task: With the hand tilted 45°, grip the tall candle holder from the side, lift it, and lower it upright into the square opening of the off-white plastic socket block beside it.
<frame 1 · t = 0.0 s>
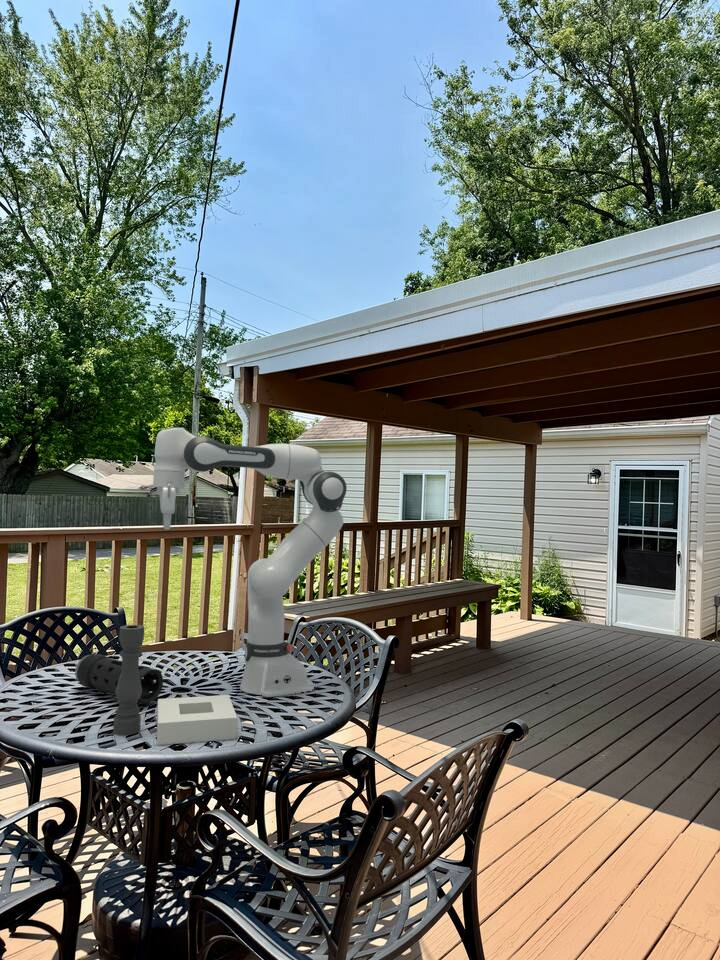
hand: (166, 528, 180), 48 cm above the table, tool pointing down, fingers open, 8 cm apart
candle holder: (126, 731, 149), on the table
socket block: (195, 728, 152), on the table
muzzle brake: (116, 697, 174), on the table
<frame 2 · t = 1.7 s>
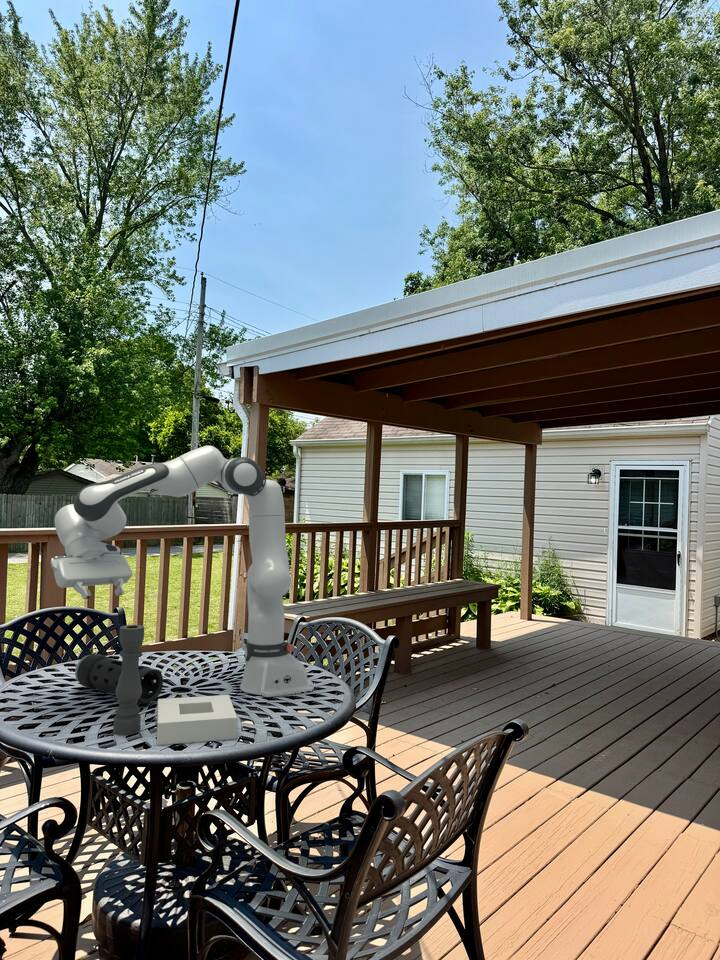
hand: (104, 595, 161), 31 cm above the table, tool tilted 45°, fingers open, 8 cm apart
nothing on the table moved.
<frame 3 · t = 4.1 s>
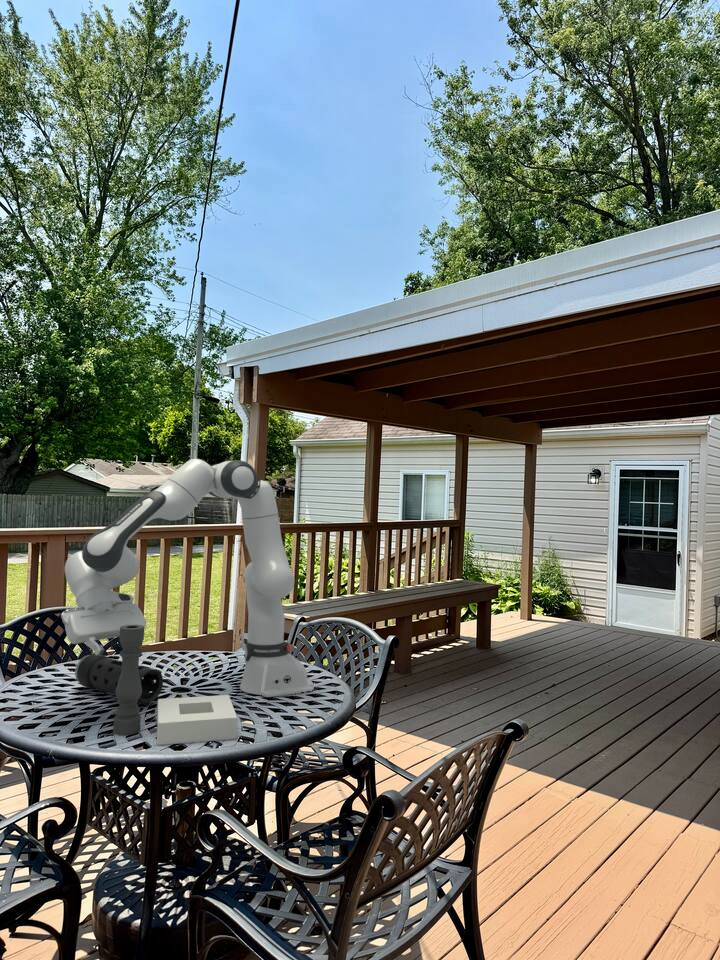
hand: (117, 650, 153), 18 cm above the table, tool tilted 45°, fingers open, 8 cm apart
nothing on the table moved.
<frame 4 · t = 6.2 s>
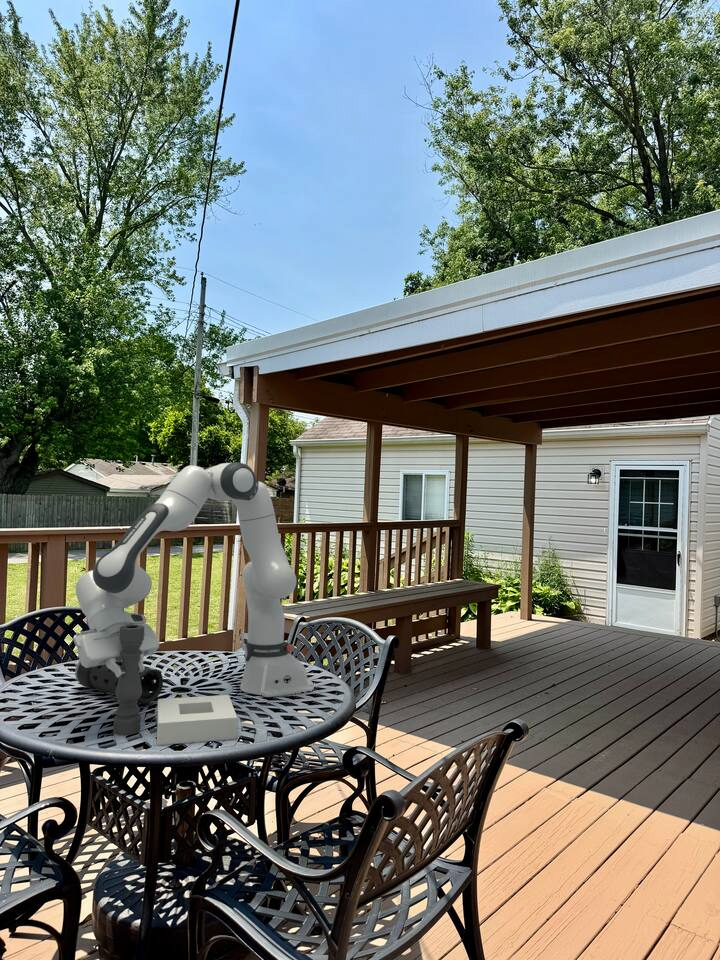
hand: (131, 673, 149), 14 cm above the table, tool tilted 45°, fingers closed on candle holder, 4 cm apart
candle holder: (126, 731, 149), on the table, touching gripper
everything else where it was.
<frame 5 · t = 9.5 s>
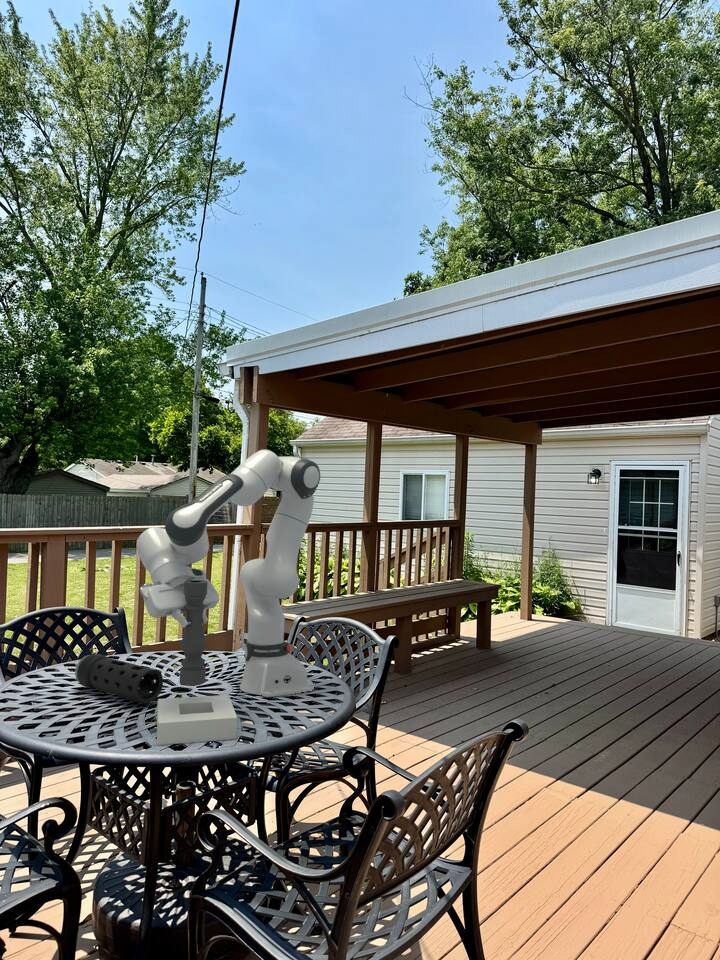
hand: (196, 624, 153), 26 cm above the table, tool tilted 45°, fingers closed on candle holder, 4 cm apart
candle holder: (192, 683, 153), point 11 cm above the table, touching gripper
everything else where it was.
when the fingers open (15 cm above the table, at t = 12.9 s): candle holder stays where it is, resting in socket block.
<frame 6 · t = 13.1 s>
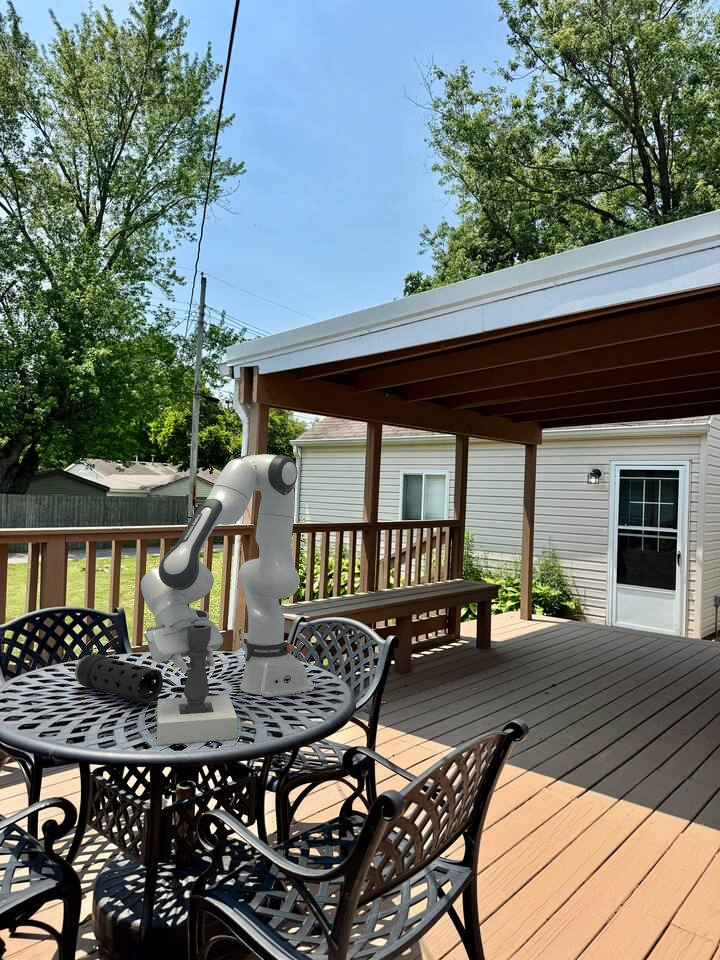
hand: (199, 668, 153), 15 cm above the table, tool tilted 45°, fingers open, 6 cm apart
candle holder: (194, 729, 152), resting in socket block
everything else where it was.
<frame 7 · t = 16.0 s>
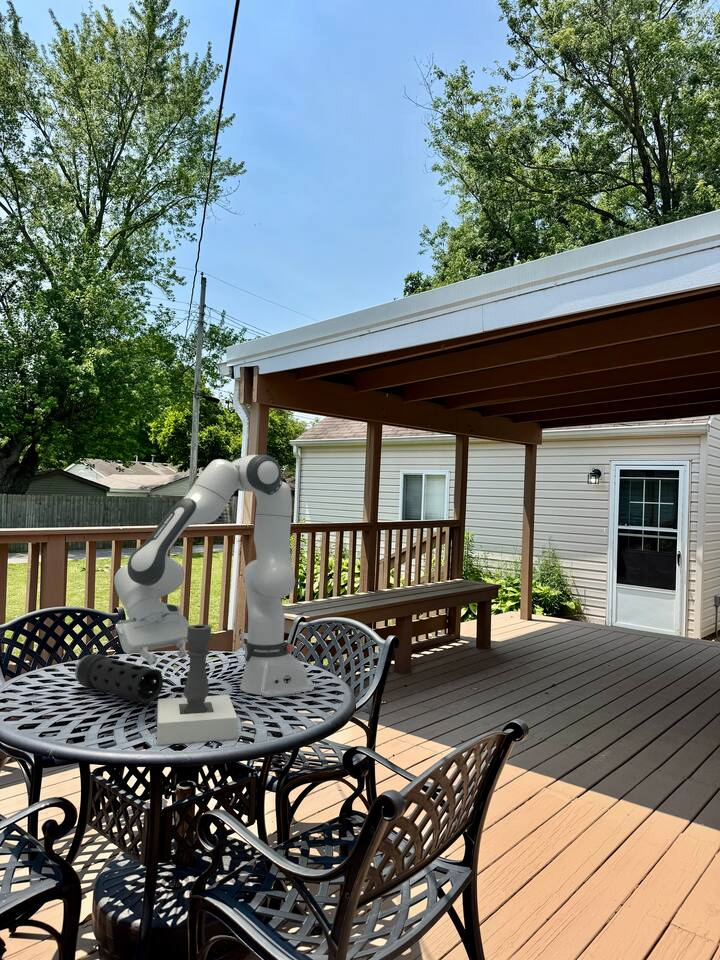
hand: (168, 659, 159), 15 cm above the table, tool tilted 45°, fingers open, 8 cm apart
nothing on the table moved.
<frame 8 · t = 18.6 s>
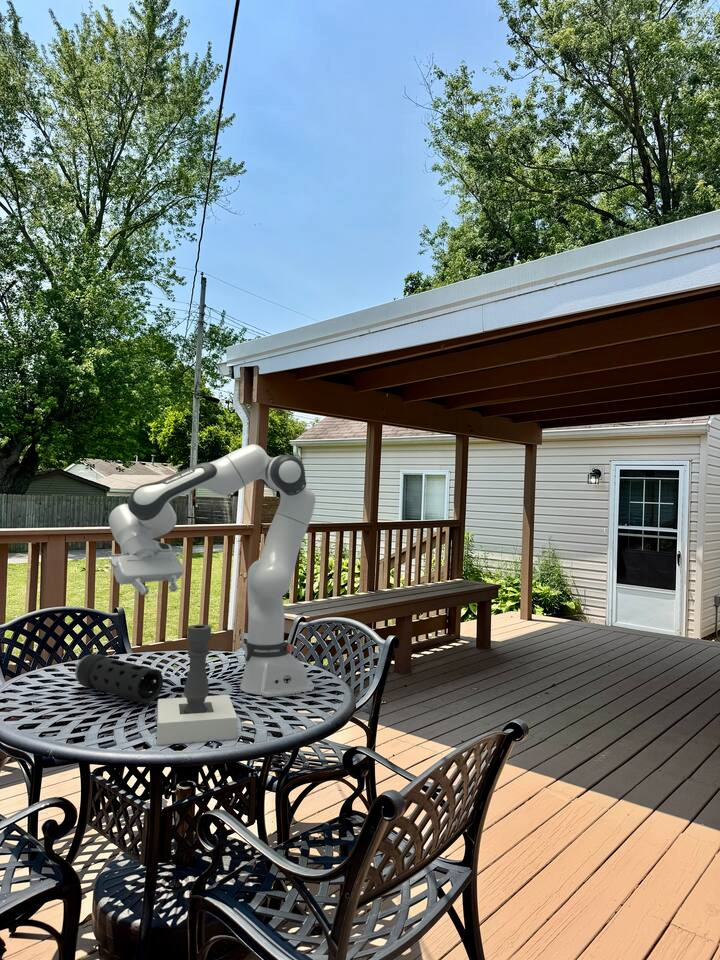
hand: (160, 591, 167), 31 cm above the table, tool tilted 45°, fingers open, 8 cm apart
nothing on the table moved.
at the end: candle holder 0.1 cm off-centre on the socket block, point 0.0 cm above the socket block's base; candle holder tilted 0°; the gripper is holding nothing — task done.
